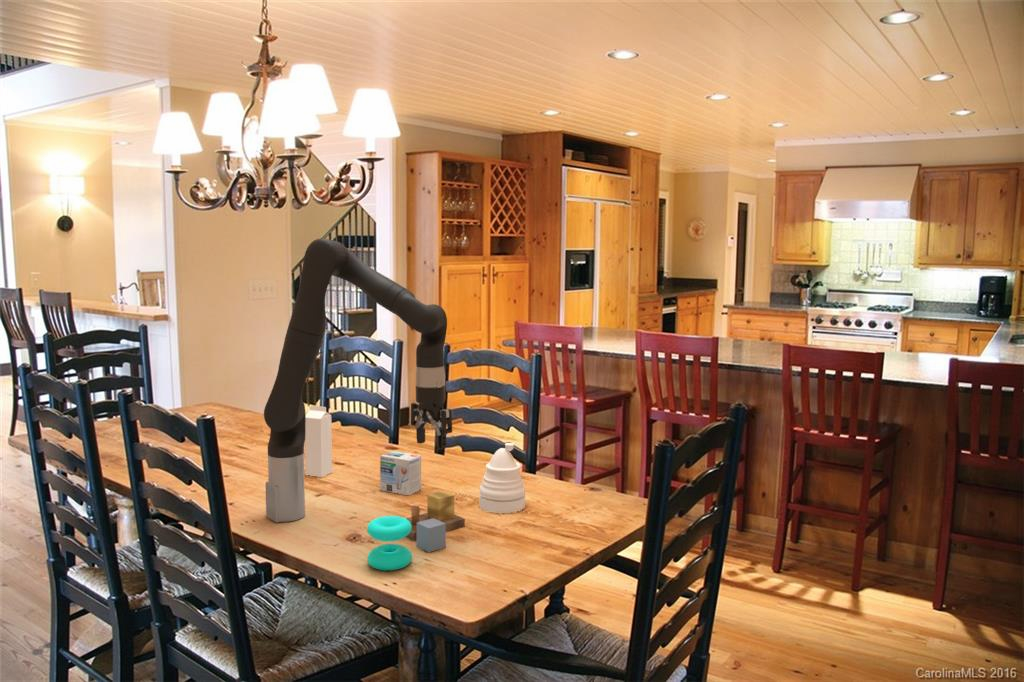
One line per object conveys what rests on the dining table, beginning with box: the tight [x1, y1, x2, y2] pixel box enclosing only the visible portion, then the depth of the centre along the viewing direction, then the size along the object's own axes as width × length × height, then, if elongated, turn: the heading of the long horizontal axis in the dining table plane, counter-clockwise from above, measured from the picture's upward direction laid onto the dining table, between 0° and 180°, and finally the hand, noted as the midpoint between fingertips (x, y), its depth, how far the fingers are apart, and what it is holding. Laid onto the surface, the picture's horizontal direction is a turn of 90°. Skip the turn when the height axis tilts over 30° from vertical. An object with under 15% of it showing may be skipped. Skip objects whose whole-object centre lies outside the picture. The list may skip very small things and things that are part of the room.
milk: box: [304, 405, 333, 478], centre depth 246 cm, size 6×6×22 cm
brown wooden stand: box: [405, 490, 466, 542], centre depth 201 cm, size 16×10×8 cm, turn 131°
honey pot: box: [478, 442, 526, 514], centre depth 218 cm, size 13×13×18 cm
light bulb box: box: [379, 450, 422, 496], centre depth 232 cm, size 11×7×11 cm, turn 62°
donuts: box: [366, 515, 413, 572], centre depth 178 cm, size 10×10×10 cm
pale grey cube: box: [416, 518, 447, 553], centre depth 188 cm, size 5×5×6 cm
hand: (431, 446), depth 200 cm, fingers open, 8 cm apart
